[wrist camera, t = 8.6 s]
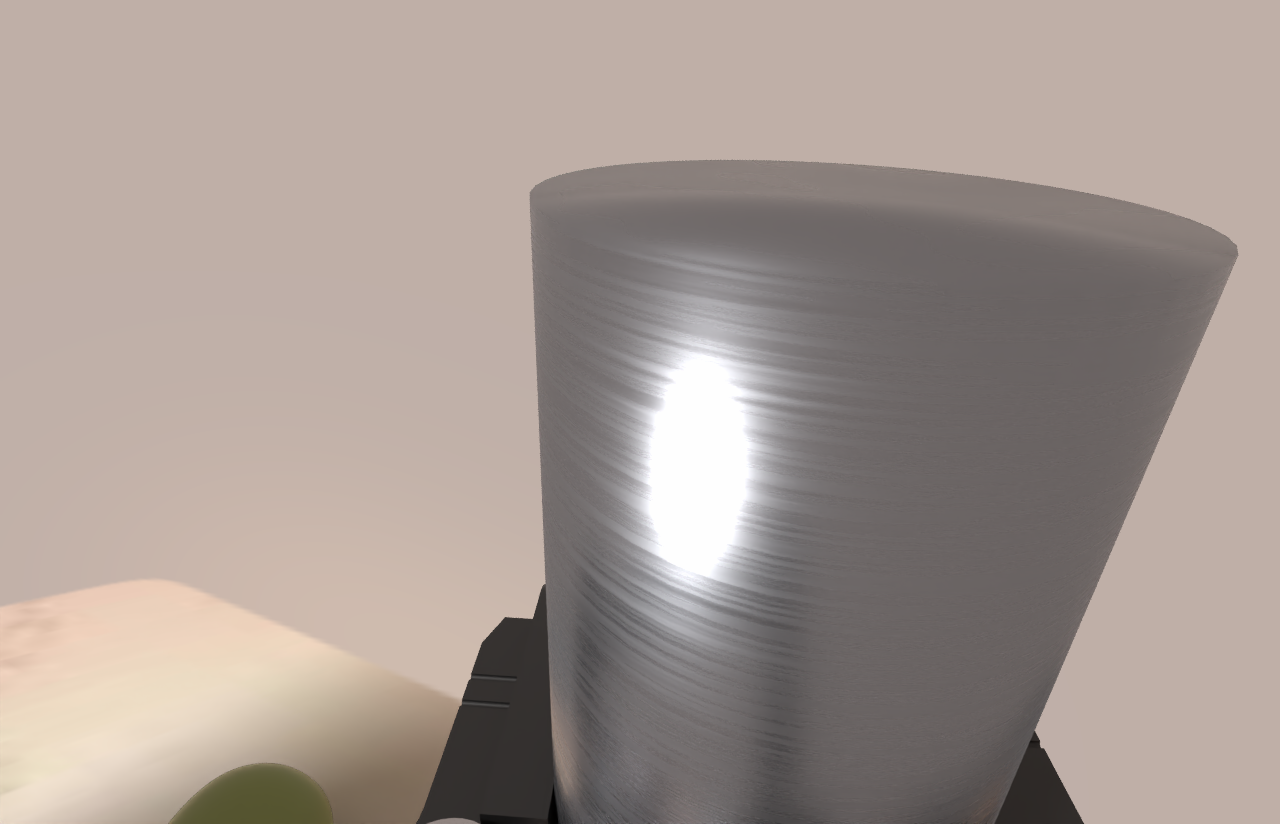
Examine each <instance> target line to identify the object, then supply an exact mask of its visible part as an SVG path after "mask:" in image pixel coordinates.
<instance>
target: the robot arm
mask: <svg viewBox="0 0 1280 824" xmlns="http://www.w3.org/2000/svg"><path fill="white" fill-rule="evenodd" d="M416 824H556V819H555V795H554V771H553V747H552V723H551V699H550V675H549V651H548V627H547V603H546V584H544V585H543V587H542V589H541V592H540V596H539V600H538V603H537V606H536V610H535V614H534V617H533V619H523V618H507V617H505V618H504V619H503V620H502V621H501V623H500V624H499V625H498V626H497V627H496V628H495V629H494V630H493V632H491V633H490V635H489V636H488V637H487V638H486V639H485V640H484V641H483V642H482V645H481V648H480V650H479V653H478V656H477V659H476V662H475V665H474V667H473V671H472V673H471V679H470V680H469V681H468V684H467V687H466V690H465V693H464V696H463V698H462V705H461V706H460V707H459V710H458V713H457V715H456V718H455V721H454V724H453V727H452V730H451V732H450V735H449V738H448V741H447V744H446V747H445V749H444V752H443V755H442V758H441V761H440V764H439V766H438V769H437V772H436V775H435V778H434V781H433V783H432V786H431V789H430V792H429V795H428V798H427V800H426V803H425V806H424V809H423V811H422V813H421V815H420V818H419V819H418V821H417V823H416ZM995 824H1084V823H1083V821H1082V819H1081V817H1080V815H1079V814H1078V812H1077V810H1076V808H1075V806H1074V804H1073V802H1072V801H1071V799H1070V797H1069V795H1068V793H1067V791H1066V789H1065V787H1064V786H1063V783H1062V782H1061V780H1060V778H1059V776H1058V774H1057V772H1056V770H1055V768H1054V767H1053V765H1052V763H1051V761H1050V759H1049V757H1048V755H1047V753H1046V751H1045V750H1044V749H1043V748H1041V747H1040V740H1039V738H1038V736H1037V734H1036V733H1035V731H1034V733H1033V735H1032V737H1031V740H1030V742H1029V744H1028V747H1027V749H1026V751H1025V754H1024V756H1023V758H1022V761H1021V763H1020V765H1019V768H1018V770H1017V772H1016V775H1015V777H1014V779H1013V782H1012V784H1011V786H1010V789H1009V791H1008V793H1007V796H1006V798H1005V800H1004V803H1003V805H1002V807H1001V810H1000V812H999V814H998V817H997V819H996V821H995Z"/></svg>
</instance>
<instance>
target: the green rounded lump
mask: <svg viewBox="0 0 1280 824" xmlns="http://www.w3.org/2000/svg"><path fill="white" fill-rule="evenodd" d="M168 824H333V816H332V811H331V807H330V804H329V801H328V799H327V797H326V795H325V793H324V792H323V790H322V789H321V788H320V786H319V785H318V784H317V783H316V782H315V781H314V780H313V779H311V778H310V777H309V776H307V775H306V774H304V773H303V772H301V771H299V770H297V769H294V768H292V767H289V766H285V765H281V764H274V763H259V764H251V765H246V766H242V767H239V768H236V769H233V770H231V771H229V772H226V773H224V774H223V775H221V776H219V777H217V778H216V779H214V780H213V781H211V782H210V783H208V784H207V785H206V786H205V787H203V788H202V789H201V790H200V791H198V792H197V793H196V794H195V795H194V796H193V797H192V798H191V799H190V800H189V801H188V802H187V803H186V804H185V805H184V806H183V807H182V808H181V809H180V810H179V811H178V813H177V814H176V815H175V816H174V817H173V818H172V820H171V821H170V822H169V823H168Z"/></svg>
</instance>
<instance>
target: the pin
mask: <svg viewBox="0 0 1280 824" xmlns="http://www.w3.org/2000/svg"><path fill="white" fill-rule="evenodd" d="M530 217H531V240H532V264H533V289H534V312H535V338H536V361H537V384H538V385H537V386H538V410H539V434H540V456H541V457H540V458H541V480H542V481H541V482H542V505H543V530H544V553H545V578H546V603H547V627H548V651H549V675H550V699H551V723H552V747H553V771H554V795H555V819H556V824H995V821H996V819H997V817H998V814H999V812H1000V810H1001V807H1002V805H1003V803H1004V800H1005V798H1006V796H1007V793H1008V791H1009V789H1010V786H1011V784H1012V782H1013V779H1014V777H1015V775H1016V772H1017V770H1018V768H1019V765H1020V763H1021V761H1022V758H1023V756H1024V754H1025V751H1026V749H1027V747H1028V744H1029V742H1030V740H1031V737H1032V735H1033V733H1034V730H1035V728H1036V726H1037V723H1038V721H1039V719H1040V716H1041V714H1042V712H1043V709H1044V707H1045V704H1046V702H1047V700H1048V698H1049V695H1050V693H1051V691H1052V688H1053V686H1054V684H1055V681H1056V679H1057V677H1058V674H1059V672H1060V670H1061V667H1062V665H1063V662H1064V660H1065V658H1066V656H1067V653H1068V651H1069V649H1070V646H1071V644H1072V641H1073V639H1074V637H1075V635H1076V632H1077V630H1078V627H1079V625H1080V623H1081V621H1082V618H1083V616H1084V614H1085V611H1086V609H1087V607H1088V604H1089V602H1090V600H1091V597H1092V595H1093V593H1094V590H1095V588H1096V586H1097V583H1098V581H1099V579H1100V576H1101V574H1102V572H1103V569H1104V567H1105V565H1106V562H1107V560H1108V558H1109V555H1110V553H1111V551H1112V548H1113V546H1114V544H1115V541H1116V539H1117V537H1118V534H1119V532H1120V530H1121V527H1122V525H1123V523H1124V520H1125V518H1126V516H1127V513H1128V511H1129V509H1130V506H1131V504H1132V502H1133V499H1134V497H1135V495H1136V492H1137V490H1138V488H1139V485H1140V483H1141V481H1142V478H1143V476H1144V474H1145V471H1146V469H1147V467H1148V464H1149V462H1150V460H1151V457H1152V455H1153V453H1154V450H1155V448H1156V446H1157V443H1158V441H1159V439H1160V436H1161V434H1162V432H1163V429H1164V427H1165V425H1166V422H1167V420H1168V418H1169V415H1170V413H1171V411H1172V408H1173V406H1174V404H1175V401H1176V399H1177V397H1178V394H1179V392H1180V389H1181V387H1182V385H1183V383H1184V380H1185V378H1186V376H1187V373H1188V371H1189V369H1190V366H1191V364H1192V362H1193V359H1194V357H1195V355H1196V352H1197V350H1198V347H1199V346H1200V343H1201V341H1202V338H1203V336H1204V334H1205V331H1206V329H1207V327H1208V325H1209V322H1210V320H1211V317H1212V315H1213V313H1214V310H1215V308H1216V306H1217V304H1218V301H1219V299H1220V296H1221V294H1222V292H1223V290H1224V287H1225V285H1226V283H1227V280H1228V277H1229V275H1230V273H1231V271H1232V268H1233V266H1234V264H1235V262H1236V259H1237V257H1238V251H1237V246H1236V245H1235V244H1234V243H1233V242H1232V241H1231V240H1230V239H1229V238H1228V237H1227V236H1225V235H1223V234H1221V233H1220V232H1218V231H1216V230H1214V229H1212V228H1210V227H1208V226H1205V225H1203V224H1201V223H1198V222H1196V221H1193V220H1191V219H1187V218H1184V217H1181V216H1178V215H1175V214H1172V213H1169V212H1166V211H1162V210H1158V209H1154V208H1151V207H1147V206H1143V205H1139V204H1135V203H1131V202H1126V201H1122V200H1117V199H1113V198H1108V197H1104V196H1099V195H1094V194H1089V193H1084V192H1079V191H1073V190H1067V189H1062V188H1056V187H1050V186H1044V185H1037V184H1031V183H1024V182H1018V181H1011V180H1003V179H996V178H988V177H981V176H972V175H963V174H954V173H946V172H936V171H926V170H917V169H906V168H894V167H882V166H867V165H854V164H838V163H837V164H836V163H819V162H796V161H758V160H699V161H667V162H650V163H635V164H625V165H614V166H606V167H598V168H592V169H586V170H581V171H575V172H571V173H566V174H562V175H559V176H556V177H553V178H550V179H547V180H545V181H543V182H541V183H539V184H538V185H536V186H535V187H534V188H533V189H532V190H531V192H530Z"/></svg>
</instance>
